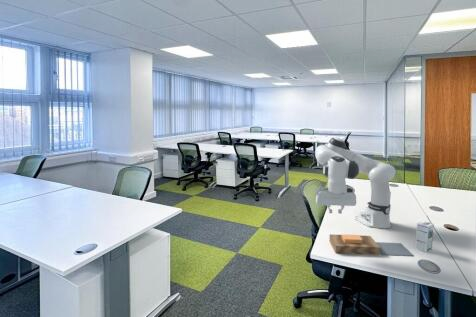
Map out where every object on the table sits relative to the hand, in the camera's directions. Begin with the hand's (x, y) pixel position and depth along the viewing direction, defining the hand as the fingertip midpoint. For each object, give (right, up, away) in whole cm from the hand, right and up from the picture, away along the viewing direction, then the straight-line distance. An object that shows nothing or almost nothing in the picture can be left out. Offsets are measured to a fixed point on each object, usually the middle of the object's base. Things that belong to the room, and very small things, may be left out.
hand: (335, 213), depth 151 cm
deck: (+10, -19, +2) cm, 22 cm away
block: (+9, -15, +1) cm, 18 cm away
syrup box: (+47, -19, 0) cm, 50 cm away
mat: (+30, -19, 0) cm, 36 cm away
